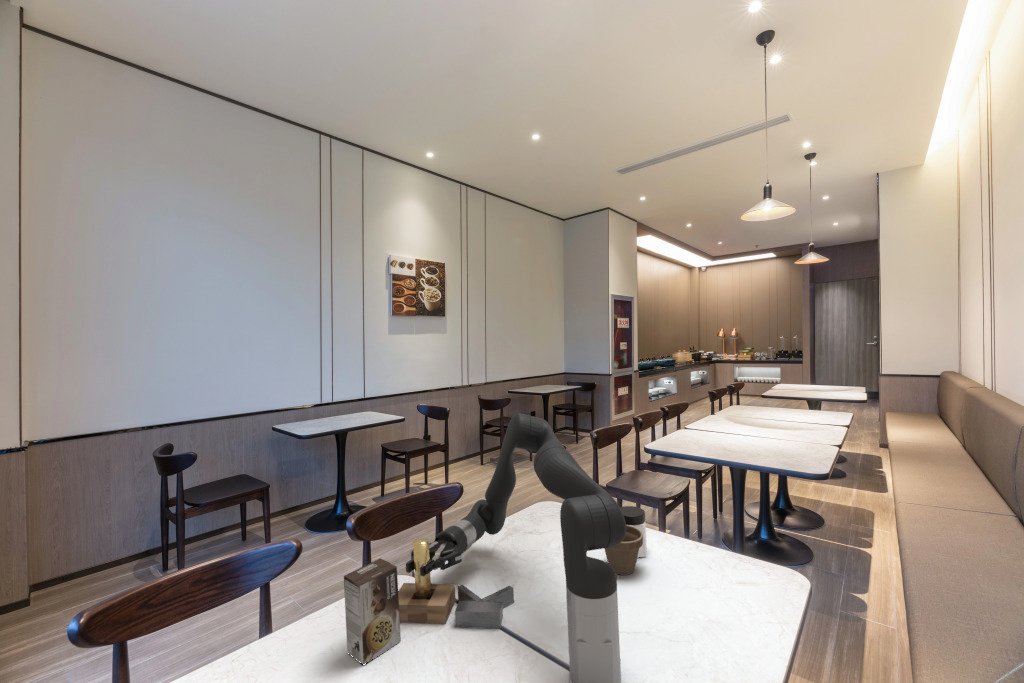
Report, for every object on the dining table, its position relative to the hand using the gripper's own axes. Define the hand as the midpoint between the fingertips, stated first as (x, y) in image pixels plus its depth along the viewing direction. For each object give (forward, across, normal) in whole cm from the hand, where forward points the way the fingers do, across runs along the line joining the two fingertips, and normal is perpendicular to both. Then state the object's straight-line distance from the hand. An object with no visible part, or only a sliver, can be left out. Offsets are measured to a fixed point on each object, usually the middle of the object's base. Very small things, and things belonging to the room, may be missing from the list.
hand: (414, 570), depth 102 cm
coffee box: (+12, -2, +11) cm, 16 cm away
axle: (-3, 0, +10) cm, 11 cm away
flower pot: (-39, +38, +11) cm, 56 cm away
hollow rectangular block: (-3, 0, +11) cm, 11 cm away
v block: (-8, +13, +11) cm, 19 cm away
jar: (-50, +39, +11) cm, 64 cm away
